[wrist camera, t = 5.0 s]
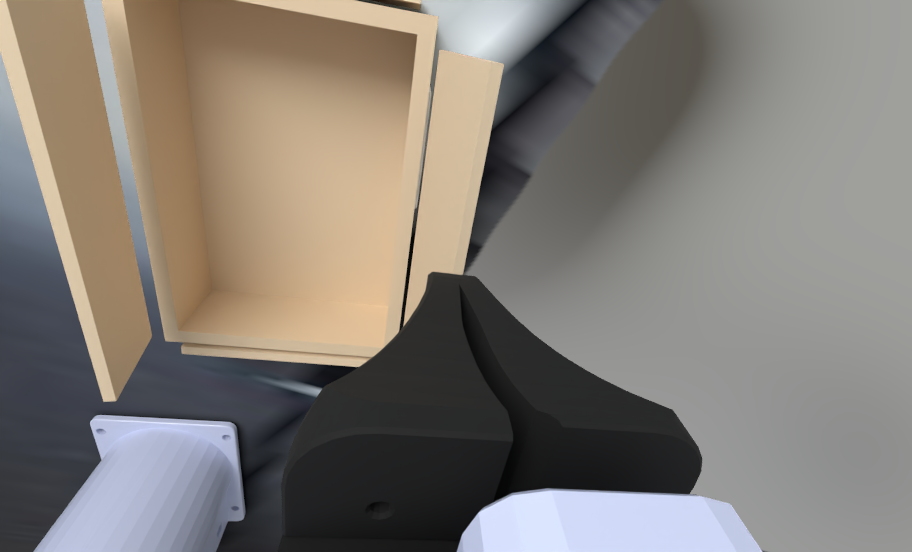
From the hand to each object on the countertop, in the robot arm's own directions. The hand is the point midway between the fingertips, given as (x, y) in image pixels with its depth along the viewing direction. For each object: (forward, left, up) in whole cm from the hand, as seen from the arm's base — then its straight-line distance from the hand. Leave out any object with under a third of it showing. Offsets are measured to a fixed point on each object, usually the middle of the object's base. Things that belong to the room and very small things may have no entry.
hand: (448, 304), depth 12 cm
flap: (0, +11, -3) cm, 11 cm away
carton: (0, +6, -10) cm, 11 cm away
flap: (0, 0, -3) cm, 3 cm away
